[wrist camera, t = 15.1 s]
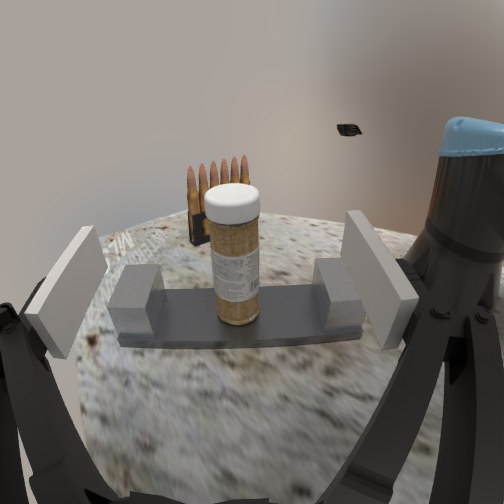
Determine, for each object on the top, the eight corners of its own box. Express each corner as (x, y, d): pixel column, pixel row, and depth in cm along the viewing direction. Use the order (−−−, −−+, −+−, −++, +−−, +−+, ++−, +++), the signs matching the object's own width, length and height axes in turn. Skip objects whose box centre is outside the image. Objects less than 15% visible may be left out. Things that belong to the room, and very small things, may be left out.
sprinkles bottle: (236, 292, 35) (230, 177, 27) (268, 309, 32) (271, 188, 25) (207, 314, 32) (192, 193, 24) (240, 334, 29) (234, 207, 22)
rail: (341, 290, 37) (348, 254, 34) (360, 338, 30) (372, 302, 27) (137, 297, 36) (127, 262, 33) (120, 346, 29) (105, 310, 26)
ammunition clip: (247, 221, 52) (246, 152, 45) (253, 226, 51) (253, 154, 44) (189, 241, 47) (181, 166, 40) (195, 246, 45) (186, 169, 39)
